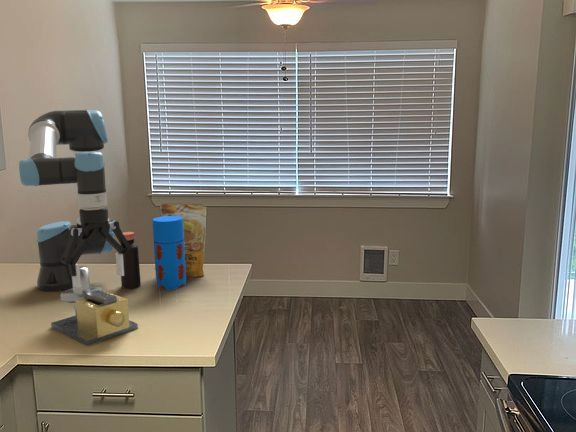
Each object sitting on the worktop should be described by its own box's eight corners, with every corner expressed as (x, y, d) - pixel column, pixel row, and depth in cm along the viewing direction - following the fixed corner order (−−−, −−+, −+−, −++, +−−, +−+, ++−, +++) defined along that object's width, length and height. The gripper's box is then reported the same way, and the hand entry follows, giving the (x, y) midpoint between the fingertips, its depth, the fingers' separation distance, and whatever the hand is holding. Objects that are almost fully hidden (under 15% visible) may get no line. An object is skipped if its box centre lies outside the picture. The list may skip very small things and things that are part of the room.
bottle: (133, 289, 198) (129, 235, 195) (117, 288, 201) (113, 234, 197) (144, 284, 205) (140, 231, 201) (128, 282, 207) (124, 230, 203)
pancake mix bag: (167, 270, 222) (163, 202, 217) (211, 273, 217) (208, 203, 212) (159, 275, 215) (154, 205, 210) (204, 278, 211) (201, 206, 206)
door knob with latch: (49, 326, 165) (43, 270, 162) (98, 311, 177) (93, 259, 173) (94, 349, 148) (88, 287, 145) (144, 331, 160) (140, 273, 157)
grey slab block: (87, 324, 161) (84, 293, 159) (99, 320, 164) (96, 289, 162) (106, 332, 155) (103, 300, 153) (118, 327, 158) (116, 296, 156)
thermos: (172, 291, 196) (167, 222, 191) (150, 287, 201) (145, 220, 197) (192, 283, 205) (189, 217, 200) (171, 279, 210) (167, 215, 206)
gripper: (56, 216, 141) (64, 294, 145) (139, 202, 160) (144, 272, 164) (42, 212, 146) (50, 289, 150) (125, 200, 165) (130, 268, 169)
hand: (99, 280), depth 157 cm, fingers open, 13 cm apart
